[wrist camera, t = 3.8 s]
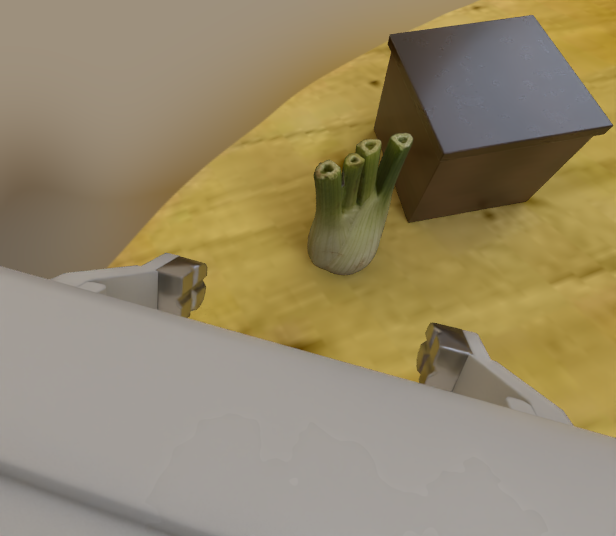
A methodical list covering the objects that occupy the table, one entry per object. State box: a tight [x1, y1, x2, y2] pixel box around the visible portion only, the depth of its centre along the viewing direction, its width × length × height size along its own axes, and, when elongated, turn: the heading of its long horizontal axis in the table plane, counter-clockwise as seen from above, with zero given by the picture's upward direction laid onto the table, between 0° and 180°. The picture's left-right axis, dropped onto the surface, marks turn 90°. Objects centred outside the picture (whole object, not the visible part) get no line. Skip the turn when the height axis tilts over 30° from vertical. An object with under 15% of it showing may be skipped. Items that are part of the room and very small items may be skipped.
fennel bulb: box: [308, 133, 413, 275], centre depth 23 cm, size 6×5×12 cm
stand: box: [374, 15, 613, 223], centre depth 28 cm, size 12×12×9 cm
